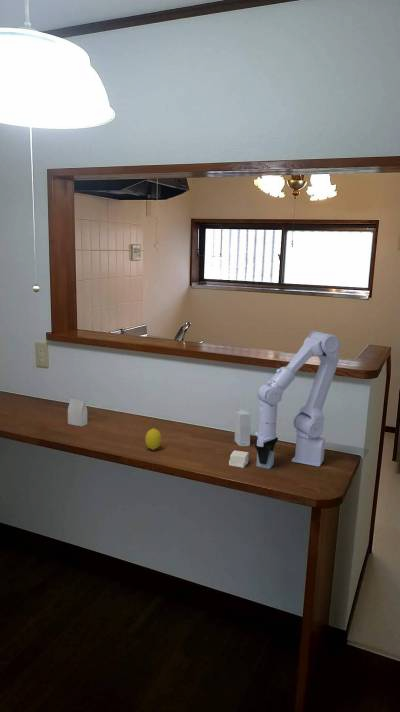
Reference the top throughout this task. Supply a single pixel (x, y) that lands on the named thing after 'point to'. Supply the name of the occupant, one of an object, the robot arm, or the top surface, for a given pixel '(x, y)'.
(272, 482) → the top surface
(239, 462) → the slab bottom
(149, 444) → the lemon
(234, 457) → the slab top
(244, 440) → the skincare box
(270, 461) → the blue cube
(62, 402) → the top surface
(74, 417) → the white upright block
